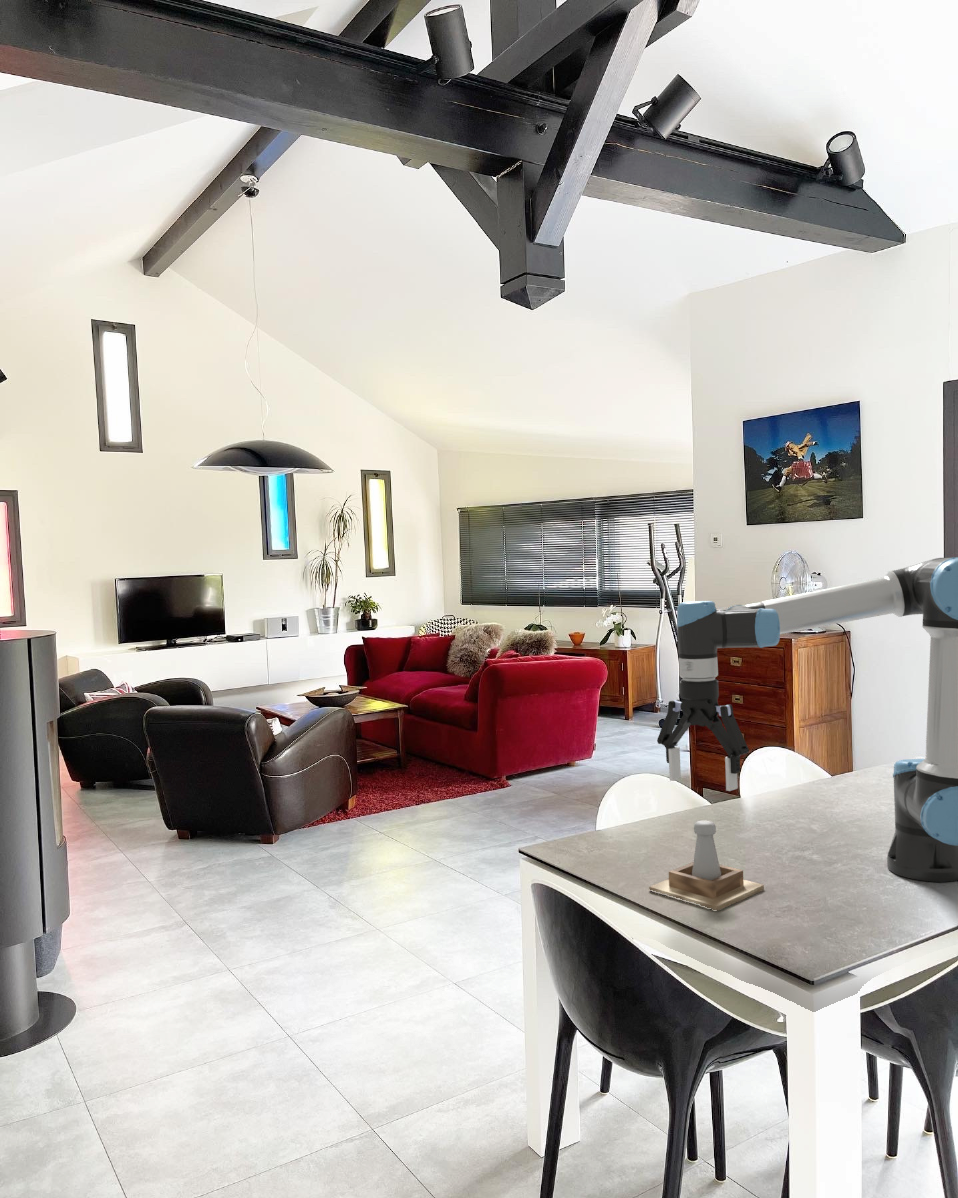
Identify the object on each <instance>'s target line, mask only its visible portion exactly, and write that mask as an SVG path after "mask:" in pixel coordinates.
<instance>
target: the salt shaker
mask: <svg viewBox="0 0 958 1198" xmlns="http://www.w3.org/2000/svg"><path fill="white" fill-rule="evenodd" d="M693 832H694V834H696V842H695V849H694V856H693V861H692V862H693V869H692V876H695V877H699V878H703V879H706V880H710V881H711V880H713V879H716V878H718V877H720V876H721V870H720V866H719V864H720V862H719V858H718V857H719V856H718V854H717V852H718V851H717V848H716V843H715V839H714V835H715V834H716V832H717V828H716V823H715V822H713V821H711V820H705V819H704V820H701V819H700V820H697V821H696V822H694V825H693Z"/></svg>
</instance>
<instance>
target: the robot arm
mask: <svg viewBox="0 0 958 1198" xmlns="http://www.w3.org/2000/svg"><path fill="white" fill-rule="evenodd" d="M676 611H677V612H676V615H677V616H676V619H677V620H676V630H677V631H676V632H677V647H678V649H677V651H678V652H677V653H678V673H679V675H678V676H679V677H680V678H682V679H680V681H679V697H680V699H681V700H679V699H674V700H670V701H668V707H667V713H666V715H665V717H664V718H665V719H664V721H663V724H662V727H661V729H660V732H659V734H658V737H657V744H658V745H663V747H664V748H665V755H666V756H665V757H666V763H668V767H669V768H668V769H669V770H668V771H669V773H668V774H669V781H670V782H674V781H677V780H680V779H681V778H682V773H681V772H682V770H681V769H682V768H681V752H680V751H681V749H680V746H678V743H679V742H680V741H681V739H682V738H683V736H684V735H685V734H686V732H687V730H688V729H689V728H690V726H700V727H707V728H708V730H710V731H711V733H712V734H713V735H714V736H715V738H716V740H717V742H719V744H720V745H721V746H722V748H723V749H724V751H725V752H726V754H727V755H728V756H725V757H724V762H725V791H728V792H731V791H734V790H737V789H738V787H739V784H738V774H739V773H741V756H742V755H746V754H748V753H749V752H750V749H749V747H748V744H747V742H746V740H745V737H744V735H743V733H742V732H741V729H740V727H739V725H738V722H737V720H736V717H735V716H734V708H733V705H732V704H731V703H730V704H726V705H725V704H724V705H719V702H718V699H719V697H720V693H719V692H720V691H719V680H718V679H717V678H716V677H718V676H719V667H718V666H719V665H718V663H719V662H718V649H727V648H761V649H763V648H765V647H776V646H777V645H778V644H779V642H780V640H781V635H783V634H789V633H795V632H799V631H806V630H810V629H815V628H820V627H826V626H831V625H832V626H833V625H837V624H842V623H847V622H853V621H859V620H863V619H869V618H870V619H871V618H874V617H881V616H885V615H889V614H890V615H891V614H894V615H895V616H896V617H899V618H900V617H906V616H912V615H914V616H915V615H922V626H921V627H922V628H923V629H924V630H925V632H926V633H928V634H929V636H930V641H929V642H930V643H929V644H930V646H929V649H930V650H929V667H928V669H929V670H928V691H927V713H926V714H927V715H926V716H927V717H926V736H925V737H926V738H925V741H926V742H925V758H907V759H899V760H897V761H896V762H894V764H893V765H894V766H893V773H892V778H893V797H894V799H893V800H894V801H893V802H894V803H893V804H894V829H895V830H894V834H893V837H892V839H891V843H890V845H889V849H888V852H887V857H886V864H887V865H886V867H887V869H888V870H889V871H890V872H892V873H893V874H895V875H898V876H900V877H902V878H903V877H904V878H906V879H912V880H917V881H923V882H934V883H935V882H938V883H942V882H943V883H946V882H955V881H958V557H957V556H956V557H936V558H932V559H929V560H926V561H923V562H920V563H917V564H914V565H910V566H906V567H903V568H898V569H894V570H890V571H887V573H886V574H885V576H883V577H880V578H874V579H870V580H869V579H868V580H865V581H859V582H853V583H848V584H844V585H839V586H833V587H828V588H823V589H819V590H813V591H807V592H803V593H797V594H794V595H787V596H783V597H778V598H774V599H773V598H771V599H768V600H762V601H759V602H753V603H752V602H751V603H747V604H736V605H732V606H729V608H726V610H722V609H718V610H717V607H716V604H715V602H714V601H712V600H691V601H683V602H681V603H679V604H678V605H677V609H676ZM681 711H682V713H683V714H682V716H681V718H680V720H679V721H678V718H679V715H680V712H681ZM718 715H719V716H718ZM719 717H721V718H719ZM677 721H678V724H677V725H676V723H677Z"/></svg>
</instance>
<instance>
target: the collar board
mask: <svg viewBox="0 0 958 1198" xmlns="http://www.w3.org/2000/svg"><path fill="white" fill-rule="evenodd" d="M693 862H694V861H692V862H690V863H688V864H685V865H682V866H679V867H677V868H675V869H674V868H673V869H672V870H669V871H668V879H665V880H663V881H660V882H657V883H655V884H652V885H651V886H648V887H649V889H650V890H653V891H656V892H660V893H662V894H667V895H669V896H673V897H676V898H680V899H682V900H686V901H689V902H694V903H696V904H700V905H701V906H705V907H707V908H711V909H713V910H719V911H721V910H723V909H722V908H724V909H725V907H726V908H727V906H728V907H730V906H732V905H734V904H736V902H737V903H740V901H743V900H745V899H747V898H749V897H751V896H753V895H756V894H758V893H761V892H763V891H764V890H765V885H764V884H761V883H759V882H754V881H752V880H751V881H750V880H747V879H744V870H743V869H739V868H735V867H731V866H728V865H723V864H720V863H719V866H720V870H721V876H720V877H718V878H716V879H713V880H711V881H710V880H706V879H703V878H699V877H695V876H692V869H693ZM649 889H648V890H649ZM731 904H732V905H731ZM720 909H721V910H720Z"/></svg>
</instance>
